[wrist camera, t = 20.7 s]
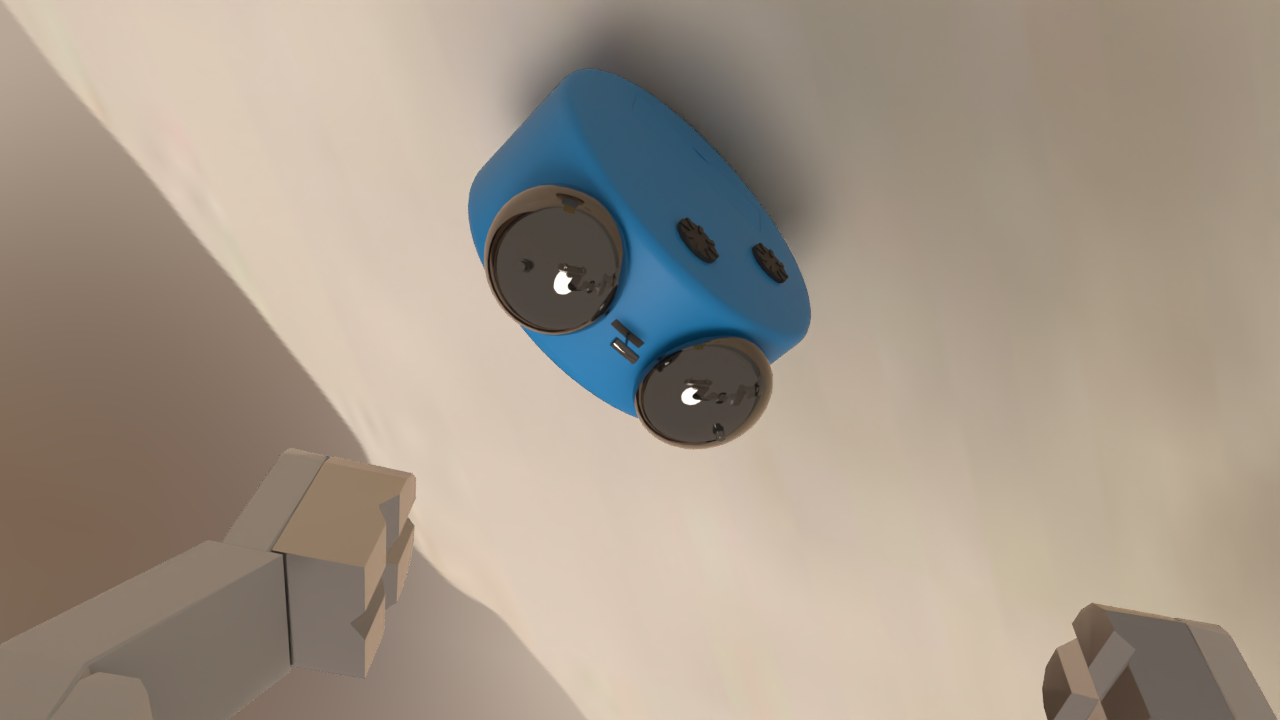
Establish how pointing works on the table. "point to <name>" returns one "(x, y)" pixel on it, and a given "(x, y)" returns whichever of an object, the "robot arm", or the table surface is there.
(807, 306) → the alarm clock
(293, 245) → the table surface
